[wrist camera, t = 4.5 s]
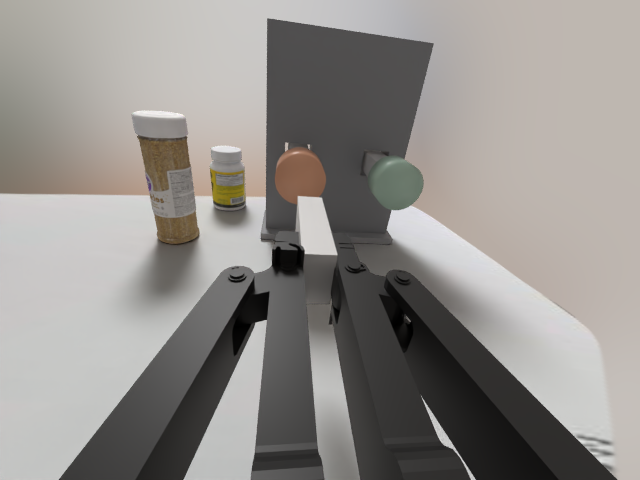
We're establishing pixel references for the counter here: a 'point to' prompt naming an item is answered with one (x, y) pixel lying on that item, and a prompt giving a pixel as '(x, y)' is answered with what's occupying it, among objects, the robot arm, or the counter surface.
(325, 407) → the counter surface
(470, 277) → the counter surface
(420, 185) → the sage button
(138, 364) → the counter surface
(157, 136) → the spice jar
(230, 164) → the supplement bottle
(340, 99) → the button panel
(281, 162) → the rust button
